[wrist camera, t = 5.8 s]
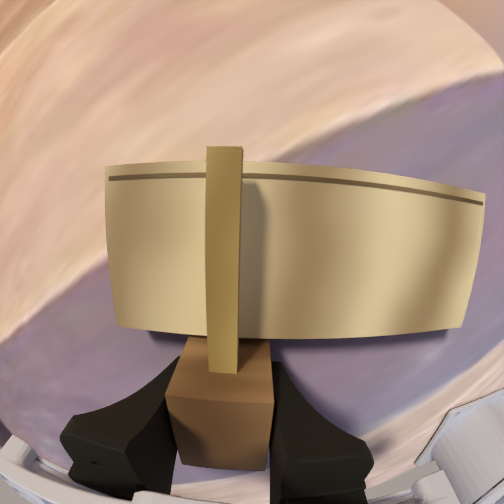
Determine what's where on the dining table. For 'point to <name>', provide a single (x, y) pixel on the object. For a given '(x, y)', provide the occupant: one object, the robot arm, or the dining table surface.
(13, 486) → the robot arm
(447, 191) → the board
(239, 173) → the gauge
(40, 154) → the dining table surface
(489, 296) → the dining table surface
